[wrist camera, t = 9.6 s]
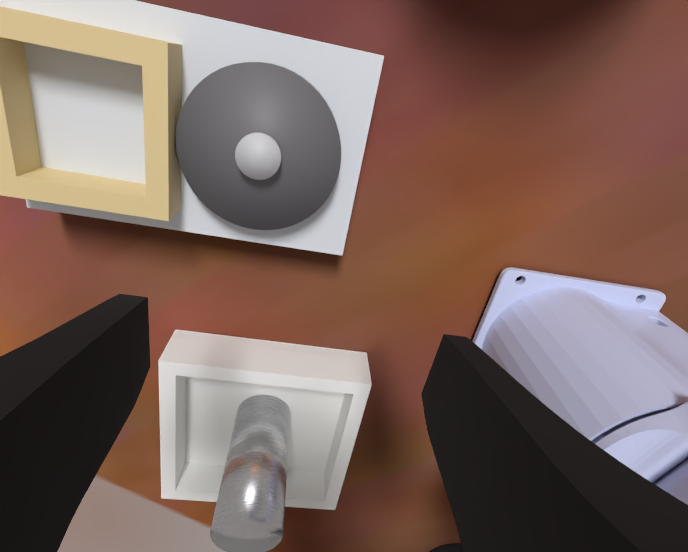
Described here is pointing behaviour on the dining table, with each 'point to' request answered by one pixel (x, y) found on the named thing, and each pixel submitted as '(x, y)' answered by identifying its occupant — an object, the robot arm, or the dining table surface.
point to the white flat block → (182, 121)
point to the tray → (249, 380)
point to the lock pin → (254, 478)
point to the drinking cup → (449, 548)
